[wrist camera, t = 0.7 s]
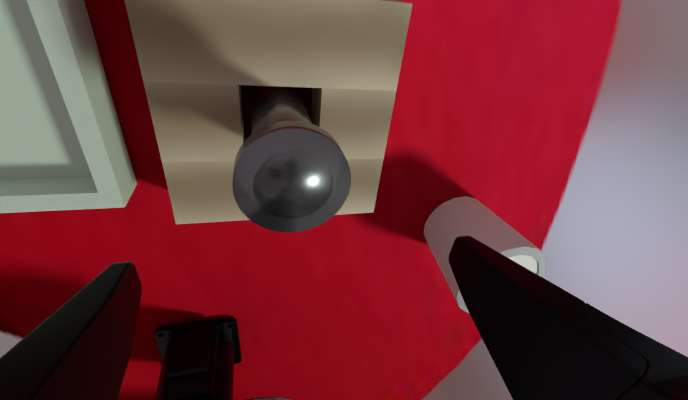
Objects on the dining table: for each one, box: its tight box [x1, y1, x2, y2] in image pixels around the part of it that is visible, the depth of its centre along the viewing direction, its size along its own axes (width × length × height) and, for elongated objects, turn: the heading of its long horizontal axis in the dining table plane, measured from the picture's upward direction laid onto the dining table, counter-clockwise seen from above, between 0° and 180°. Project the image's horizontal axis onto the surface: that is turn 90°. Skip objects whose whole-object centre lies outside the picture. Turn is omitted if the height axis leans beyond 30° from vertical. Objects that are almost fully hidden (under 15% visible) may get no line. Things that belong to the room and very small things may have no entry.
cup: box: [423, 196, 546, 313], centre depth 26 cm, size 7×7×7 cm
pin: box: [232, 86, 351, 232], centre depth 16 cm, size 4×4×9 cm
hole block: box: [125, 0, 412, 224], centre depth 18 cm, size 12×12×3 cm
